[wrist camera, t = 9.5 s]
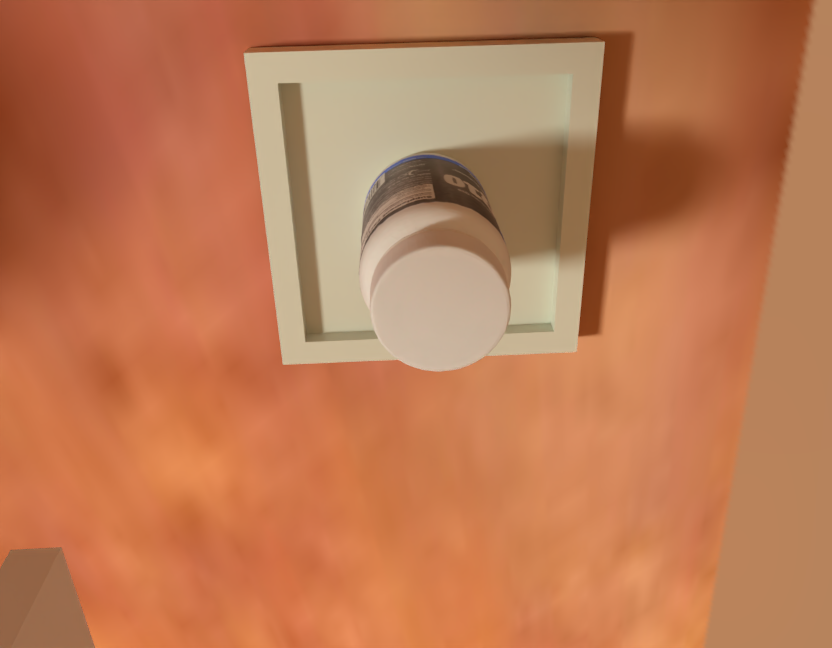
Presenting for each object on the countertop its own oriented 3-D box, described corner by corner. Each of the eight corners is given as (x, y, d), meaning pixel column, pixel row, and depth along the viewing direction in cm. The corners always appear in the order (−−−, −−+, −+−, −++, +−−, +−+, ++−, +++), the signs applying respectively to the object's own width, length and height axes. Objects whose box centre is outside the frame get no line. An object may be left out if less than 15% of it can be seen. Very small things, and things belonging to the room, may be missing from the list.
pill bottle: (509, 228, 29) (555, 335, 21) (405, 290, 30) (415, 411, 22) (446, 124, 27) (472, 200, 19) (337, 193, 28) (322, 291, 20)
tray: (286, 349, 31) (282, 364, 30) (249, 47, 26) (243, 52, 25) (570, 337, 32) (576, 352, 31) (595, 36, 26) (605, 41, 25)
